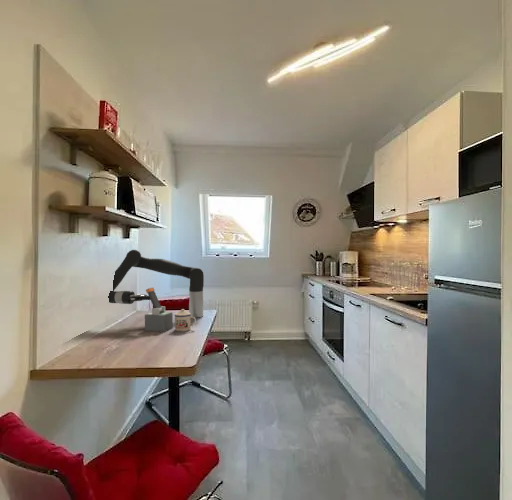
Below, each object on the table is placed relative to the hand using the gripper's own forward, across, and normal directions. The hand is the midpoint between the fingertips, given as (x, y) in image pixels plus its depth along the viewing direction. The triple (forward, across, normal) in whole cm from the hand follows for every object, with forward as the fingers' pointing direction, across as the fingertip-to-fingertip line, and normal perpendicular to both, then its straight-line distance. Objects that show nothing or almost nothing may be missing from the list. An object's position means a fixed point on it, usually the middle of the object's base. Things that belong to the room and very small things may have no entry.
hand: (151, 297), depth 206 cm
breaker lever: (+5, 0, +8) cm, 10 cm away
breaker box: (+5, 0, +18) cm, 19 cm away
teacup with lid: (+20, +2, +18) cm, 27 cm away
